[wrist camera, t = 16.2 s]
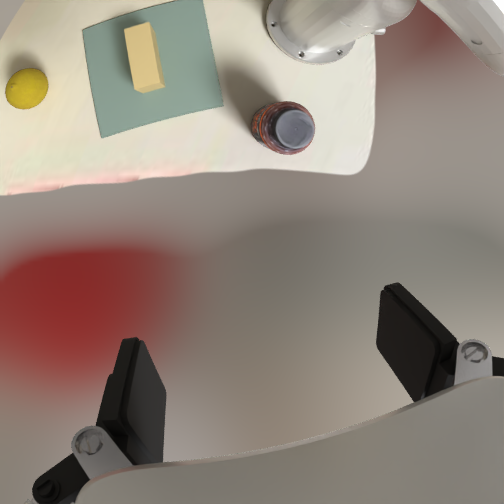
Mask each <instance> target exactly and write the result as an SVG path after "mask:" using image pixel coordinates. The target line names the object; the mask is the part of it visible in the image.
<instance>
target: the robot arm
mask: <svg viewBox="0 0 504 504" xmlns="http://www.w3.org/2000/svg"><path fill="white" fill-rule="evenodd" d="M416 1H417V0H272V1H271V3H270V4H269V6H268V10H267V13H266V24H267V29H268V31H269V34H270V36H271V38H272V40H273V41H274V43H275V44H276V45H277V46H278V47H279V48H280V50H282V51H283V52H284V53H285V54H287V55H288V56H290V57H292V58H293V59H295V60H298V61H300V62H303V63H307V64H312V65H323V64H329V63H332V62H335V61H337V60H339V59H342V58H343V57H344V56H346V55H347V54H348V53H349V52H350V50H351V49H352V48H353V45H354V43H355V41H356V39H359V38H361V37H363V36H365V35H368V34H378V35H383V34H384V33H385V27H387V26H389V25H392V24H394V23H397V22H399V21H401V20H402V19H404V18H405V17H406V16H407V15H408V14H409V13H410V12H411V11H412V9H413V8H414V6H415V4H416ZM420 1H421V2H422V3H423V4H424V5H426V6H427V7H428V8H429V9H430V10H431V11H433V12H435V13H436V14H437V15H438V16H439V17H440V18H441V19H442V20H443V21H444V22H445V23H446V24H447V25H448V26H449V27H450V28H451V29H452V30H453V31H454V32H455V33H456V34H457V35H458V36H459V37H460V38H461V40H462V41H463V42H464V43H465V44H466V45H467V46H468V47H469V48H470V49H471V50H472V52H473V53H474V54H475V55H476V56H477V57H478V58H479V59H480V60H481V61H482V62H483V63H484V64H485V65H486V66H487V67H488V68H489V69H491V70H492V71H494V72H495V73H497V74H499V75H501V76H504V0H420ZM271 24H273V25H274V26H275V27H273V26H271ZM337 52H338V53H339V55H338V54H337ZM298 54H301V57H299V55H298ZM456 340H457V339H456V338H455V337H454V336H453V335H452V334H451V333H450V331H448V329H446V327H445V326H444V325H443V324H442V323H440V321H439V320H438V319H437V318H435V317H434V316H433V315H432V314H431V313H430V312H429V311H428V310H427V309H426V308H425V307H424V306H423V305H422V304H421V303H420V302H419V301H418V300H417V299H416V298H415V297H414V296H413V295H412V294H411V293H410V292H408V291H407V290H406V289H405V288H404V287H403V286H402V285H401V284H400V283H393V284H390V285H386V286H385V287H384V290H382V291H381V295H380V307H379V319H378V329H377V339H376V345H377V348H378V350H379V351H380V353H381V354H382V356H383V357H384V359H385V360H386V362H387V363H388V364H389V366H390V367H391V369H392V370H393V371H394V373H395V375H396V376H397V377H398V379H399V380H400V382H401V383H402V385H403V386H404V388H405V389H406V391H407V392H408V394H409V395H410V397H411V398H412V400H413V401H414V403H412V404H409V405H407V406H404V407H402V408H400V409H397V410H394V411H392V412H389V413H386V414H384V415H381V416H378V417H376V418H373V419H370V420H367V421H364V422H362V423H358V424H355V425H352V426H349V427H346V428H343V429H340V430H336V431H333V432H330V433H326V434H323V435H319V436H315V437H312V438H308V439H304V440H300V441H296V442H292V443H288V444H283V445H279V446H275V447H269V448H265V449H260V450H254V451H249V452H243V453H237V454H231V455H225V456H218V457H210V458H202V459H194V460H185V461H175V462H163V445H164V425H165V408H166V390H165V387H164V385H163V383H162V381H161V379H160V377H159V374H158V372H157V370H156V368H155V366H154V363H153V361H152V359H151V357H150V354H149V352H148V350H147V347H146V345H145V343H144V341H142V340H140V341H139V339H138V338H137V337H134V338H128V339H123V340H122V343H121V346H120V350H119V353H118V356H117V360H116V364H115V367H114V371H113V374H110V375H109V377H108V379H107V383H106V387H105V391H104V394H103V398H102V402H101V406H100V410H99V414H98V418H97V422H96V426H88V427H85V428H83V429H81V430H80V431H78V432H77V433H76V434H75V436H74V437H73V440H72V443H71V448H72V451H73V453H72V454H71V455H69V456H68V457H66V458H65V459H64V460H62V461H61V462H60V463H58V464H57V465H55V466H54V467H52V468H51V469H50V470H49V471H47V472H46V473H44V474H43V475H41V476H40V477H39V478H38V479H37V480H36V481H35V483H34V485H33V488H32V492H33V497H34V498H33V499H32V500H31V501H30V500H29V499H27V501H26V502H25V503H24V504H504V358H499V357H493V356H492V353H491V350H490V348H489V346H488V345H486V344H485V343H483V342H481V341H479V340H475V339H469V340H465V341H463V342H462V343H460V344H459V343H458V342H457V341H456Z"/></svg>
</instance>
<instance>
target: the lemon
mask: <svg viewBox="0 0 504 504" xmlns="http://www.w3.org/2000/svg"><path fill="white" fill-rule="evenodd" d="M47 91H48V80H47V77H46V76H45V74H44V73H43V72H41V71H40V70H37V69H34V68H27V69H23V70H20V71H18V72H16V73H15V74H14V75H13V76H12V77H11V78H10V79H9V81H8V83H7V85H6V91H5V94H6V98H7V101H8V102H9V103H10V104H11V105H12V106H14V107H15V108H18V109H30V108H33V107H35V106H37V105H38V104H39V103H41V101H42V100H43V99H44V98H45V96H46V94H47Z"/></svg>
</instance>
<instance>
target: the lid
mask: <svg viewBox="0 0 504 504" xmlns="http://www.w3.org/2000/svg"><path fill="white" fill-rule="evenodd" d="M83 36H84V44H85V52H86V58H87V65H88V71H89V77H90V83H91V89H92V94H93V99H94V105H95V110H96V114H97V119H98V124H99V128H100V133H101V137H102V138H105V137H108V136H111V135H114V134H117V133H120V132H123V131H127V130H130V129H133V128H137V127H140V126H143V125H147V124H150V123H154V122H158V121H161V120H165V119H169V118H173V117H177V116H181V115H185V114H189V113H194V112H198V111H203V110H207V109H212V108H217V107H222V106H224V105H223V100H222V95H221V90H220V85H219V80H218V75H217V70H216V65H215V59H214V54H213V49H212V44H211V39H210V34H209V29H208V24H207V19H206V14H205V9H204V4H203V0H178V1H174V2H169V3H165V4H161V5H157V6H153V7H149V8H146V9H142V10H139V11H135V12H132V13H129V14H126V15H123V16H120V17H117V18H114V19H111V20H108V21H105V22H102V23H100V24H97V25H94V26H92V27H89V28H87V29H84V30H83Z"/></svg>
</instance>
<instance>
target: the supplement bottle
mask: <svg viewBox="0 0 504 504" xmlns="http://www.w3.org/2000/svg"><path fill="white" fill-rule="evenodd" d="M251 128H252V133H253V136H254V137H255V139H256V140H257V141H258V142H259V143H260V144H261V145H263V146H265V147H267V148H269V149H271V150H273V151H275V152H277V153H280V154H285V155H292V154H297V153H299V152H301V151H303V150H305V149H306V148H307V147H308V146H309V145H310V143H311V142H312V140H313V137H314V134H315V124H314V120H313V118H312V116H311V114H310V113H309V111H308V110H307V109H306V108H305V107H303V106H302V105H300V104H298V103H295V102H288V101H285V102H279V103H274V104H269V105H266V106H264V107H262V108H261V109H259V110H258V111H257V112H256V113H255V115H254V117H253V119H252V124H251Z"/></svg>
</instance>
